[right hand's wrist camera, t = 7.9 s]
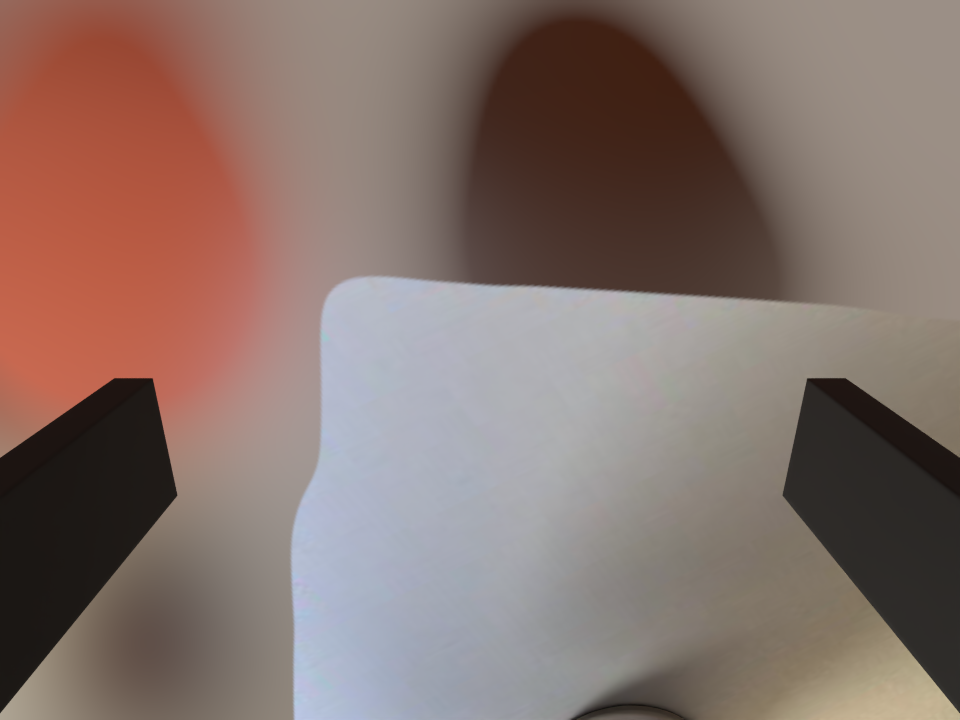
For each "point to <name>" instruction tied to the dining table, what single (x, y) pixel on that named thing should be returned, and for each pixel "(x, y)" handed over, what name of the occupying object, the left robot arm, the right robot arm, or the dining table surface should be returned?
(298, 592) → the dining table surface
